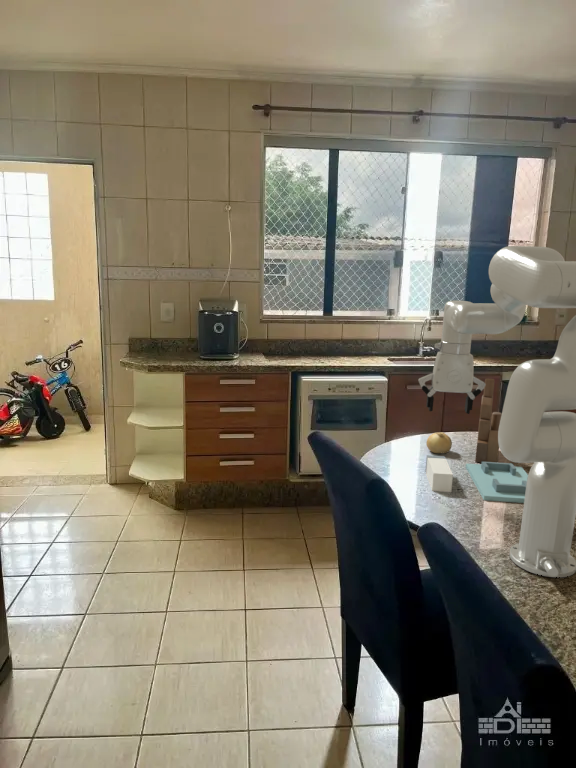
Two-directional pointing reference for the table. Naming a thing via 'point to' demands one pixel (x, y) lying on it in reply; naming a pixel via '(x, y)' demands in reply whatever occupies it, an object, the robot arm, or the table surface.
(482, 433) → the wooden toy
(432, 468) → the white pillar block
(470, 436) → the table surface
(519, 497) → the cradle
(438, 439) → the onion
